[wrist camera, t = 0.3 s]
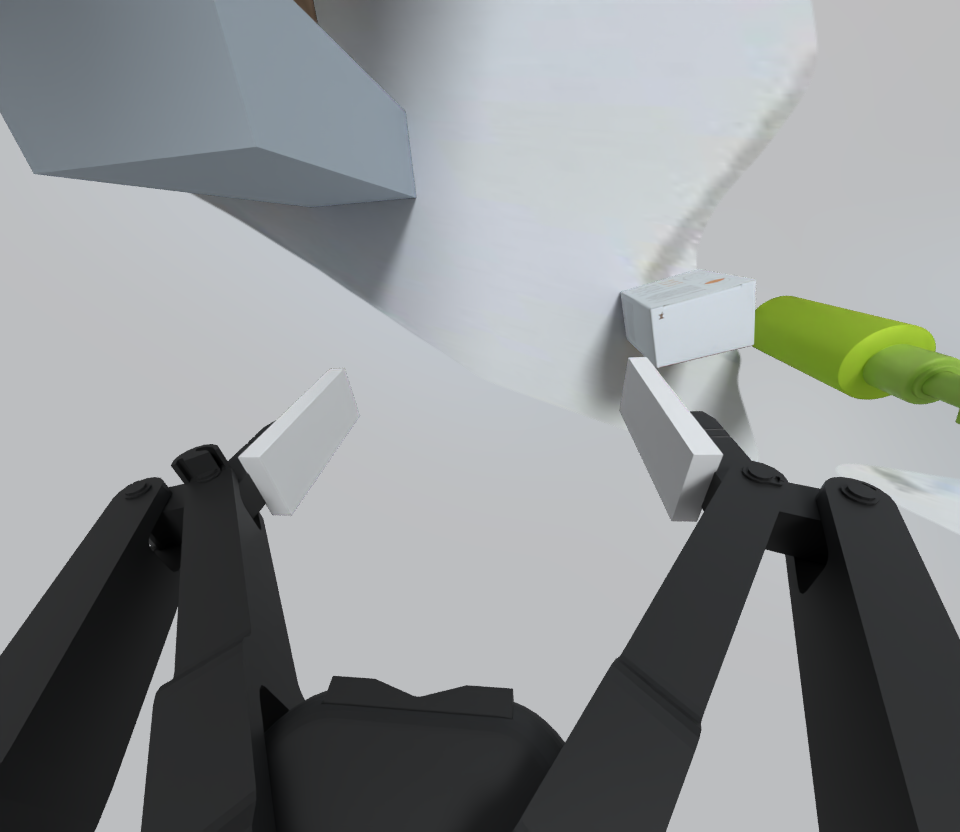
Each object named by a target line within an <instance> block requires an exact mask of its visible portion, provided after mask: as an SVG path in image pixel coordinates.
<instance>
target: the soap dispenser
mask: <svg viewBox="0 0 960 832" xmlns="http://www.w3.org/2000/svg"><path fill="white" fill-rule="evenodd" d="M753 347H754V348H756V349H758V350H760V351H762V352H764V353H766V354H768V355H770V356H772V357H774V358H776V359H778V360H780V361H782V362H784V363H786V364H788V365H790V366H791V367H793V368H795V369H797V370H799V371H801V372H803V373H805V374H807V375H809V376H811V377H813V378H815V379H817V380H819V381H821V382H823V383H825V384H827V385H829V386H831V387H833V388H835V389H837V390H839V391H841V392H843V393H845V394H847V395H849V396H851V397H854V398H857V399H878V398H883V397H886V396H889V395H893V396H895V397H897V398H900V399H902V400H904V401H906V402H909V403H913V404H928V403H933V402H936V401H939V400H941V401H943V402H946V403H948V404H951V405H953V406H956V407H959V408H960V360H958V359H957V358H954V357H951V356H947V355H943V354H940V353H937V352H935V350H936V344H935V340H934V338H933V336H932V335H931V334H930V332H928V331H927V330H926V329H924V328H922V327H919V326H916V325H911V324H907V323H903V322H899V321H894V320H890V319H886V318H882V317H878V316H874V315H869V314H865V313H861V312H857V311H853V310H848V309H844V308H840V307H836V306H831V305H827V304H823V303H819V302H815V301H810V300H806V299H802V298H797V297H793V296H780V297H776V298H773V299H771V300H769V301H767V302H765V303H763V304H762V305H761V306H759V307H758V308H757V309H756V310H755V328H754V345H753ZM956 423H958V424H960V409H959V412H958V415H957V419H956Z"/></svg>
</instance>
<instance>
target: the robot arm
mask: <svg viewBox="0 0 960 832" xmlns="http://www.w3.org/2000/svg"><path fill="white" fill-rule="evenodd" d="M619 411H620V413H621V415H622V417H623V419H624V421H625V424H626V426H627V428H628V430H629V432H630V434H631V436H632V438H633V440H634V443H635V445H636V447H637V449H638V451H639V453H640V455H641V457H642V459H643V461H644V464H645V466H646V468H647V470H648V472H649V474H650V477H651V479H652V481H653V483H654V485H655V487H656V489H657V491H658V493H659V496H660V498H661V500H662V502H663V504H664V506H665V508H666V510H667V513H668V515H669V517H670V519H671V521H695V522H696V521H697V520H698V517H699V515H700V512H701V510H702V509H703V511H704V513H703V515H702V517H701V518H700V520H699V522H698V523H697V525H696V527H695V529H694V530H693V532H692V534H691V536H690V537H689V539H688V541H687V542H686V544H685V546H684V547H683V549H682V551H681V553H680V554H679V556H678V558H677V560H676V561H675V563H674V565H673V566H672V568H671V570H670V572H669V573H668V575H667V577H666V578H665V580H664V582H663V584H662V585H661V587H660V589H659V590H658V592H657V594H656V596H655V597H654V599H653V601H652V603H651V604H650V606H649V608H648V609H647V611H646V613H645V615H644V616H643V618H642V620H641V622H640V623H639V625H638V627H637V628H636V630H635V632H634V634H633V635H632V637H631V639H630V640H629V642H628V644H627V646H626V647H625V649H624V651H623V652H622V654H621V655H620V657H618V658H617V659H616V660H615V661H614V662H613V663H612V665H611V667H610V668H609V670H608V671H607V673H606V675H605V676H604V678H603V680H602V681H601V683H600V685H599V687H598V688H597V690H596V692H595V693H594V695H593V697H592V698H591V700H590V702H589V703H588V705H587V707H586V708H585V710H584V712H583V714H582V715H581V717H580V719H579V720H578V722H577V724H576V725H575V727H574V729H573V730H572V732H571V734H570V736H569V737H568V739H567V741H566V742H564V741H563V740H562V738H561V737H560V736H559V735H558V733H557V732H556V731H555V730H554V729H553V728H552V727H551V726H550V725H549V724H548V723H547V722H546V721H545V720H544V719H542V718H541V717H540V716H539V715H537V714H536V713H534V712H533V711H531V710H529V709H528V708H526V707H524V706H522V705H520V704H518V703H515V702H514V699H513V689H509V688H494V687H481V686H467V685H466V686H463V687H458V688H455V689H450V690H446V691H442V692H438V693H434V694H430V695H426V696H421V697H416V696H412V695H410V694H408V693H406V692H403V691H401V690H399V689H397V688H394V687H392V686H390V685H388V684H385V683H383V682H381V681H378V680H376V679H369V678H356V677H355V678H354V677H341V676H333V677H332V680H331V683H330V685H329V688H328V691H325V692H322V693H320V694H317V695H314V696H312V697H310V698H309V699H307V700H304V698H303V695H302V694H301V691H300V688H299V685H298V681H297V677H296V672H295V667H294V662H293V658H292V653H291V648H290V643H289V639H288V634H287V629H286V624H285V620H284V615H283V610H282V605H281V600H280V596H279V591H278V586H277V582H276V577H275V572H274V567H273V563H272V558H271V553H270V548H269V543H268V539H267V534H266V529H265V524H264V520H263V518H262V516H261V514H260V513H259V511H260V510H261V509H262V508H263V506H264V505H265V504H266V505H267V507H268V509H269V510H270V512H271V514H272V515H292V514H293V513H294V511H295V510H296V509H297V507H298V506H299V504H300V503H301V501H302V500H303V498H304V497H305V495H306V494H307V492H308V491H309V490H310V488H311V487H312V485H313V484H314V482H315V481H316V479H317V478H318V476H319V475H320V474H321V472H322V471H323V469H324V468H325V466H326V465H327V463H328V462H329V460H330V459H331V457H332V456H333V455H334V453H335V452H336V450H337V449H338V447H339V446H340V444H341V443H342V441H343V440H344V439H345V437H346V435H347V434H348V433H349V431H350V430H351V428H352V427H353V425H354V424H355V422H356V421H357V420H358V418H359V417H360V414H359V411H358V408H357V405H356V402H355V399H354V396H353V393H352V389H351V386H350V383H349V380H348V377H347V374H346V371H345V368H334V369H329V370H328V371H327V372H326V373H325V374H324V375H323V376H322V377H321V378H320V379H319V380H318V381H317V382H315V383H314V384H313V385H312V386H311V387H310V388H309V389H308V390H307V391H306V392H305V393H304V394H303V395H302V396H301V397H300V398H299V399H298V400H297V401H296V402H295V403H294V404H293V405H292V406H291V407H290V408H288V409H287V410H286V411H285V412H284V414H282V415H281V416H280V417H279V418H278V419H277V420H276V421H274V422H272V423H271V424H269V425H267V426H265V427H264V428H263V429H262V430H260V431H259V432H258V433H257V434H256V435H255V437H253V438H252V439H251V440H250V441H249V442H248V444H246V445H245V446H244V447H243V448H241V449H240V450H239V451H238V452H237V453H236V454H235V455H234V456H233V457H232V458H231V459H230V460H229V461H227V460H226V458H225V457H224V455H223V454H222V452H221V450H220V449H219V447H218V446H217V445H213V444H209V445H202V446H199V447H195V448H193V449H190V450H188V451H186V452H185V453H183V454H181V455H179V456H178V457H177V458H176V459H175V460H174V461H173V463H172V465H171V466H172V468H173V469H174V470H175V472H176V473H177V474H178V476H179V477H180V478H181V480H182V481H183V482H184V484H182V485H177V486H173V487H168V486H167V485H166V484H165V483H164V481H163V480H162V479H161V478H156V477H153V478H147V479H144V480H141V481H136V482H134V483H133V484H130V485H128V486H127V487H126V488H124V489H123V490H122V491H120V492H119V493H118V494H117V495H116V496H115V497H114V498H113V499H112V501H111V502H110V503H109V505H108V506H107V508H106V509H105V510H104V512H103V513H102V515H101V516H100V517H99V519H98V520H97V522H96V523H95V524H94V526H93V527H92V529H91V530H90V531H89V533H88V534H87V536H86V537H85V538H84V540H83V541H82V542H81V544H80V545H79V547H78V548H77V549H76V551H75V552H74V554H73V555H72V556H71V558H70V559H69V561H68V562H67V563H66V565H65V566H64V568H63V569H62V570H61V572H60V573H59V575H58V576H57V577H56V579H55V580H54V582H53V583H52V584H51V586H50V587H49V589H48V590H47V591H46V593H45V594H44V595H43V597H42V598H41V600H40V601H39V602H38V604H37V605H36V607H35V608H34V609H33V611H32V612H31V614H30V615H29V617H28V618H27V619H26V621H25V622H24V624H23V625H22V626H21V628H20V629H19V630H18V632H17V633H16V635H15V636H14V637H13V639H12V640H11V642H10V643H9V644H8V646H7V647H6V649H5V650H4V651H3V653H2V654H1V655H0V832H94V831H95V829H96V827H97V825H98V823H99V820H100V818H101V815H102V813H103V810H104V808H105V805H106V803H107V800H108V798H109V795H110V793H111V791H112V788H113V785H114V782H115V780H116V777H117V774H118V771H119V768H120V766H121V763H122V760H123V757H124V755H125V752H126V749H127V746H128V743H129V741H130V738H131V735H132V732H133V729H134V727H135V724H136V721H137V718H138V716H139V713H140V710H141V707H142V705H143V702H144V699H145V696H146V693H147V691H148V688H149V685H150V682H151V680H152V677H153V674H154V671H155V668H156V666H157V663H158V660H159V657H160V655H161V652H162V649H163V646H164V644H165V641H166V638H167V635H168V632H169V630H170V627H171V624H172V621H173V618H174V616H175V613H176V610H177V607H178V620H177V637H176V654H175V672H174V678H173V679H172V680H171V681H169V682H167V683H166V684H164V685H162V686H161V687H160V688H159V690H158V691H157V693H156V695H155V699H154V704H153V712H152V723H151V733H150V743H149V754H148V764H147V775H146V784H145V795H144V806H143V816H142V826H141V832H666V829H667V827H668V824H669V821H670V819H671V816H672V813H673V810H674V808H675V804H676V802H677V799H678V797H679V794H680V791H681V788H682V786H683V783H684V780H685V777H686V774H687V772H688V769H689V766H690V764H691V761H692V758H693V755H694V752H695V750H696V747H697V744H698V741H699V737H700V733H701V721H702V717H703V714H704V711H705V709H706V706H707V703H708V701H709V698H710V695H711V693H712V690H713V687H714V684H715V681H716V679H717V676H718V674H719V671H720V668H721V666H722V663H723V660H724V658H725V655H726V652H727V650H728V647H729V644H730V642H731V639H732V636H733V634H734V631H735V628H736V625H737V623H738V620H739V617H740V615H741V612H742V610H743V607H744V604H745V602H746V599H747V596H748V593H749V591H750V588H751V585H752V583H753V580H754V577H755V575H756V572H757V569H758V567H759V564H760V561H761V559H762V556H763V553H764V551H765V549H767V550H770V551H774V552H778V553H782V554H785V557H786V564H787V573H788V581H789V589H790V597H791V604H792V613H793V621H794V630H795V638H796V645H797V654H798V662H799V670H800V679H801V686H802V695H803V703H804V711H805V719H806V727H807V735H808V744H809V752H810V760H811V768H812V776H813V784H814V792H815V799H816V800H815V801H816V809H817V816H818V825H819V832H960V639H959V637H958V635H957V633H956V631H955V629H954V626H953V624H952V622H951V620H950V618H949V616H948V613H947V611H946V609H945V607H944V605H943V603H942V601H941V599H940V596H939V595H938V592H937V590H936V588H935V586H934V584H933V582H932V579H931V577H930V575H929V573H928V571H927V569H926V567H925V565H924V562H923V561H922V558H921V556H920V554H919V552H918V550H917V548H916V546H915V543H914V541H913V539H912V537H911V535H910V533H909V531H908V529H907V526H906V524H905V522H904V520H903V518H902V516H901V514H900V512H899V510H898V507H897V505H896V503H895V502H894V501H893V500H892V499H891V497H890V496H889V495H887V494H886V493H884V492H883V491H881V490H880V489H878V488H876V487H875V486H873V485H870V484H868V483H866V482H862V481H859V480H856V479H851V478H845V477H834V478H830V479H828V480H827V481H825V483H824V484H823V486H822V488H821V489H819V488H813V487H808V486H803V485H798V484H793V483H789V482H788V481H787V479H786V478H785V477H784V475H783V474H781V473H780V472H779V471H777V470H776V469H775V468H772V467H770V466H768V465H765V464H763V463H759V462H755V461H751V460H750V458H749V457H748V456H747V455H746V454H745V453H744V451H743V450H742V449H741V448H740V447H739V446H738V445H737V443H736V442H735V441H734V440H733V439H732V438H731V437H729V436H730V435H729V434H728V433H727V432H726V431H725V430H723V427H722V426H721V425H720V424H719V423H718V422H717V421H716V419H714V418H713V417H711V416H709V415H708V414H706V413H704V412H703V411H693V412H689V410H688V409H687V408H686V406H685V405H684V404H683V403H682V401H681V400H680V399H679V398H678V396H677V395H676V394H675V392H674V391H673V390H672V389H671V387H670V386H669V385H668V383H667V382H666V381H665V380H664V378H663V377H662V376H661V375H660V373H659V372H658V371H657V369H656V368H655V367H654V366H653V364H652V363H651V362H650V361H649V359H648V358H647V357H631V358H628V363H627V369H626V375H625V381H624V387H623V393H622V398H621V404H620V410H619ZM149 544H150V545H151V546H149Z"/></svg>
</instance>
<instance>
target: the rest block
mask: <svg viewBox="0 0 960 832" xmlns="http://www.w3.org/2000/svg"><path fill="white" fill-rule="evenodd" d="M0 113H1V114H2V116H3V118H4V120H5V122H6V124H7V125H8V127H9V129H10V131H11V133H12V135H13V136H14V138H15V140H16V142H17V144H18V145H19V147H20V149H21V151H22V153H23V155H24V157H25V158H26V160H27V162H28V164H29V166H30V167H31V169H32V171H33V173H34V174H40V175H47V176H56V177H64V178H72V179H81V180H89V181H97V182H106V183H114V184H122V185H131V186H139V187H147V188H155V189H164V190H172V191H180V192H188V193H197V194H205V195H213V196H221V197H230V198H238V199H246V200H255V201H263V202H271V203H279V204H288V205H296V206H304V207H319V206H330V205H341V204H352V203H363V202H374V201H385V200H396V199H406V198H416V191H415V183H414V175H413V167H412V159H411V152H410V144H409V136H408V128H407V120H406V112H405V110H404V109H403V108H402V107H401V106H400V105H399V104H398V103H397V102H396V101H395V100H394V99H393V98H392V97H391V96H390V95H389V94H388V93H387V92H386V91H385V90H384V89H383V88H382V87H381V86H380V85H378V84H377V83H376V82H375V81H374V80H373V79H372V78H371V77H370V76H369V75H368V74H367V73H366V72H365V71H364V70H363V69H362V68H361V67H360V66H359V65H358V64H357V63H356V62H355V61H354V60H353V59H352V58H351V57H350V56H349V55H348V54H347V53H346V52H345V51H344V50H343V49H342V48H341V47H340V46H339V45H338V44H337V43H336V42H335V41H334V40H333V39H332V38H331V37H330V36H329V35H328V34H327V33H326V32H325V31H324V30H323V29H322V28H321V27H320V26H319V25H318V24H317V23H316V22H315V21H314V20H313V19H312V18H311V17H310V16H309V15H308V14H307V13H306V12H305V11H304V10H303V9H302V8H300V7H299V6H298V5H297V4H296V3H295V2H294V1H293V0H0Z"/></svg>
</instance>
